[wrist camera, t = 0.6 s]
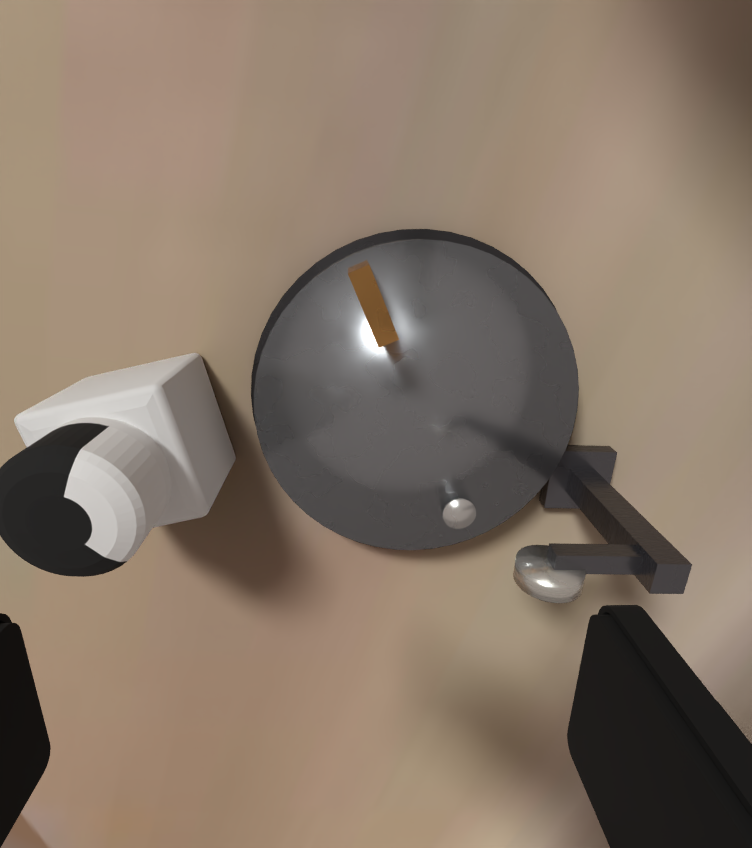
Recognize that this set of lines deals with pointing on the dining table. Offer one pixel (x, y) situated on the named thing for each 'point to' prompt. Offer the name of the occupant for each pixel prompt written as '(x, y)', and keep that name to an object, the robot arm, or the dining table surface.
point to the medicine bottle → (113, 465)
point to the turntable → (416, 394)
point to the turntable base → (364, 244)
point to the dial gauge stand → (614, 519)
